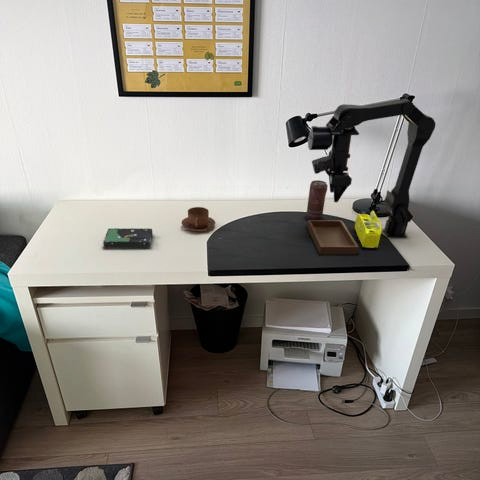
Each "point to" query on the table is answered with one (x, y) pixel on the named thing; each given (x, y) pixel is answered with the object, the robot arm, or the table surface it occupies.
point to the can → (316, 200)
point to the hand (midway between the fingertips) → (333, 197)
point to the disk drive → (128, 238)
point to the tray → (332, 237)
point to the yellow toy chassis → (368, 230)
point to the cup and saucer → (198, 220)
